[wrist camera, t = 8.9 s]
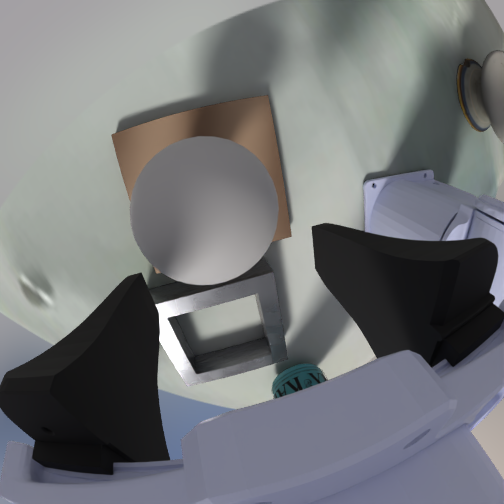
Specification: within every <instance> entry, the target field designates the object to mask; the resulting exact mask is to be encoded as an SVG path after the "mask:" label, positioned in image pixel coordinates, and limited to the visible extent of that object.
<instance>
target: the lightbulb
mask: <svg viewBox="0 0 504 504" xmlns="http://www.w3.org/2000/svg"><path fill="white" fill-rule="evenodd" d="M278 210H279V207H278V197H277V192H276V189H275V186H274V183H273V180H272V178H271V177H270V175H269V173H268V171H267V169H266V168H265V166H264V165H263V164H262V162H261V161H260V160H259V159H258V158H257V157H256V156H255V155H254V154H253V153H252V152H250V151H249V150H248V149H246V148H245V147H244V146H242V145H239V144H237V143H235V142H233V141H231V140H228V139H223V138H219V137H212V136H197V137H192V138H187V139H183V140H180V141H178V142H175V143H173V144H171V145H169V146H167V147H166V148H164V149H163V150H161V151H160V152H158V153H157V154H156V155H155V156H154V157H153V158H152V159H151V160H150V161H149V162H148V163H147V164H146V165H145V167H144V168H143V170H142V171H141V173H140V174H139V176H138V178H137V180H136V183H135V185H134V188H133V191H132V195H131V202H130V220H131V227H132V231H133V234H134V238H135V240H136V242H137V244H138V246H139V248H140V250H141V252H142V253H143V255H144V256H145V257H146V258H147V259H148V261H149V262H150V263H151V264H152V265H153V266H154V267H155V268H156V269H158V270H159V271H160V272H161V273H163V274H165V275H167V276H168V277H170V278H172V279H174V280H177V281H180V282H183V283H187V284H194V285H213V284H217V283H222V282H226V281H229V280H231V279H233V278H236V277H238V276H240V275H241V274H243V273H245V272H246V271H248V270H249V269H250V268H251V267H253V266H254V265H255V264H256V263H257V262H258V261H259V260H260V259H261V257H262V256H263V255H264V254H265V252H266V251H267V249H268V247H269V246H270V244H271V242H272V240H273V237H274V234H275V231H276V227H277V220H278Z"/></svg>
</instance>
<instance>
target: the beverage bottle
mask: <svg viewBox="0 0 504 504" xmlns="http://www.w3.org/2000/svg"><path fill="white" fill-rule="evenodd" d="M321 370H322V369H321ZM321 370H320V368H318V367H317V366H316V365H314V364H299V365H296V366H293V367H290V368H288V369H286V370H285V371H283V372H282V373H281V374H279V375H278V376H277V377H276V379H275V380H274V382H273V385H272V391H273V394H274V397H275V399H276V398H279V397H282V396H286V395H289V394H292V393H295V392H298V391H300V390H303V389H306V388H309V387H312V386H314V385H317V384H320V383H322V382H325V381H327V380H328V379H327V380H326V378H327V377H326V378H325V376H324V375H325V374H324V375H323V373H324V372H323V373H322V371H323V370H322V371H321Z"/></svg>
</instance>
